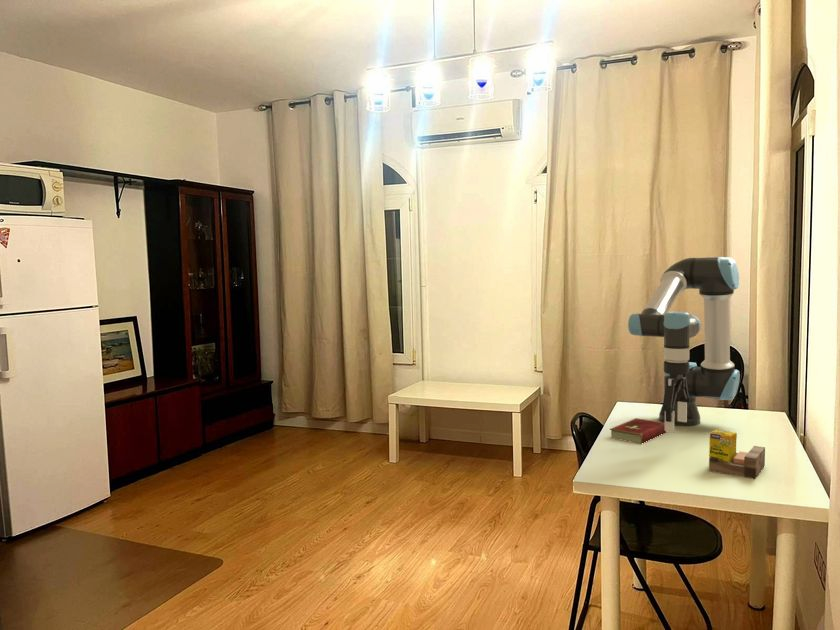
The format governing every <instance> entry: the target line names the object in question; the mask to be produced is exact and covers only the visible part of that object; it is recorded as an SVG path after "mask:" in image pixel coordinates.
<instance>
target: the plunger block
mask: <svg viewBox="0 0 840 630" xmlns="http://www.w3.org/2000/svg"><path fill="white" fill-rule="evenodd" d="M737 453H738V454H737V455H736V456H735V457H734V461H733V463H738V464H744V457H745V456H746V454H747V453H748V452H745V451H739V452H737Z"/></svg>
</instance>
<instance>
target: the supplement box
mask: <svg viewBox="0 0 840 630" xmlns="http://www.w3.org/2000/svg"><path fill="white" fill-rule="evenodd" d="M736 453H737V432H732V431H727V430H723V429H722V430H721V429H718V428H717V429H715V430H713V431H711V432H710V433H709V450H708V454H709V455H708V460H709V459H710V458H711V457H713V458H719V460H720V461H726V462H732V463H733V461H734V457H735V456H736Z"/></svg>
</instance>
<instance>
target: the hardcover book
mask: <svg viewBox="0 0 840 630" xmlns="http://www.w3.org/2000/svg"><path fill="white" fill-rule="evenodd" d="M609 431H611V433H610V435H611V437H610V438H611V439H612V438H615V439H614V440H617V439H622V440H626V441H625V442H628V441H631V442H630V443H633V442H636V443H635V444H638V443H640V444H639V445H643V444H645V443H647V442H649V441H648V440H650V439H652V440H653V438H654V439H656V438H658V437H659V435H660V436H662V435H665V434H666V433H668V431H665V423H664V422H661V421H654V420H648V419H643V418H642V419H641V418H634V419H631V420H628V421H626V422H623V423H620V424H619V425H616V426H614V427H611V428H609ZM661 434H662V435H661ZM657 436H658V437H657ZM655 437H656V438H655ZM622 440H621V441H622ZM646 441H647V442H646ZM650 441H651V440H650ZM644 442H645V443H644ZM642 443H643V444H642Z"/></svg>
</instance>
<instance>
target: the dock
mask: <svg viewBox="0 0 840 630" xmlns="http://www.w3.org/2000/svg"><path fill="white" fill-rule="evenodd" d="M738 453H739V452H736V455H737V454H738ZM746 453H747V454H746V456H745V457H744V464H738V463H732V462H726V461H720V460H719V458H713V457H711V458H710V459H709V458H708V471H709V472H712V473H719V474H724V475H725V474H726V475H729V476H730V475H731V476H736V477H742V478H748V479H752V478H753V480H756V479H757V478H756V477H758V476H759V475H760V474H759V473H761V472H762V471H763V470H764V468H765V467H764V466H766V464H765V462H766V459H765V458H766V447H765V446H758V445H753V446H752V448H751V449H749V451H748V452H746ZM761 470H762V471H761Z"/></svg>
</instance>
